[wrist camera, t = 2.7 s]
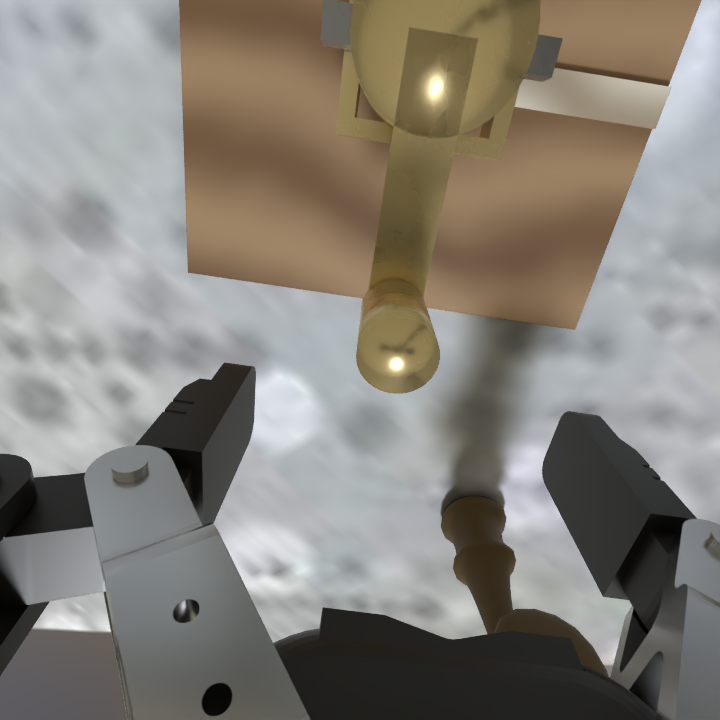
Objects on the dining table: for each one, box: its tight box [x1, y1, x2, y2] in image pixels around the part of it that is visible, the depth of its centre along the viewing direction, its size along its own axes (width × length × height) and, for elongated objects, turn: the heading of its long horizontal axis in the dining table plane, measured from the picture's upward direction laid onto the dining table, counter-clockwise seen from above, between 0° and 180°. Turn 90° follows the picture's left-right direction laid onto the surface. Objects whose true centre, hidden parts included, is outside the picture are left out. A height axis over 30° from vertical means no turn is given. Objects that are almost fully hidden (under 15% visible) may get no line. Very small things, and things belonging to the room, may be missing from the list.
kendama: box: [441, 496, 608, 676], centre depth 26 cm, size 6×10×20 cm, turn 170°
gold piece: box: [320, 0, 563, 393], centre depth 16 cm, size 15×9×9 cm, turn 172°
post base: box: [179, 0, 701, 330], centre depth 20 cm, size 24×24×6 cm
